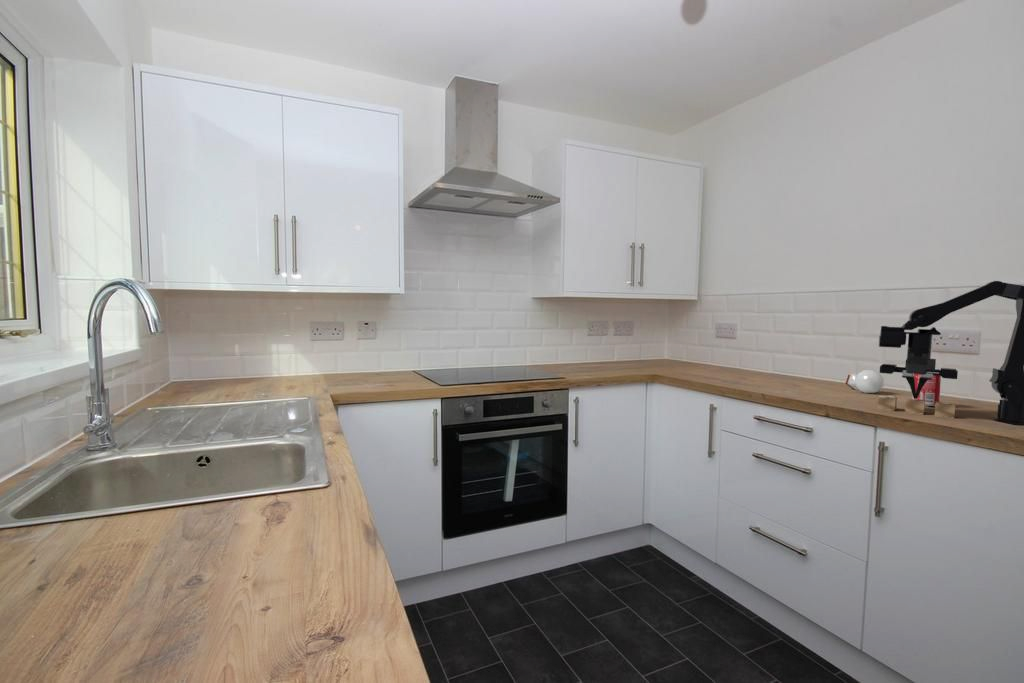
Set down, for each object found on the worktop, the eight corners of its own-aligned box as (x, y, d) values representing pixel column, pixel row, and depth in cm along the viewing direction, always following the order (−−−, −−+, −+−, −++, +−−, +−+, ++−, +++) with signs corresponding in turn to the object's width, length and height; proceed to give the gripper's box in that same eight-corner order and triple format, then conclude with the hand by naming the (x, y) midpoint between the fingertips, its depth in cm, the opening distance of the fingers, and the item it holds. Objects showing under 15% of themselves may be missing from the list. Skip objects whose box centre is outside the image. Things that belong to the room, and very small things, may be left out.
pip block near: (954, 416, 152) (955, 402, 152) (954, 418, 149) (955, 404, 148) (935, 414, 155) (936, 400, 155) (934, 416, 152) (935, 402, 151)
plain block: (924, 413, 157) (925, 400, 157) (923, 415, 153) (924, 402, 153) (906, 410, 160) (907, 398, 160) (905, 412, 156) (905, 400, 156)
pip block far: (896, 409, 161) (897, 396, 161) (894, 411, 158) (895, 398, 158) (879, 407, 164) (879, 394, 164) (877, 409, 161) (878, 396, 161)
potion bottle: (874, 398, 191) (850, 397, 206) (895, 384, 191) (870, 383, 206) (859, 378, 192) (836, 378, 207) (880, 364, 191) (856, 365, 206)
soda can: (944, 408, 166) (947, 369, 165) (919, 407, 167) (922, 368, 166) (930, 404, 173) (933, 367, 172) (907, 403, 174) (909, 366, 173)
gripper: (879, 347, 156) (875, 397, 157) (959, 352, 143) (955, 405, 144) (883, 346, 164) (879, 393, 165) (959, 350, 151) (955, 401, 152)
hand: (915, 398), depth 156 cm, fingers closed
